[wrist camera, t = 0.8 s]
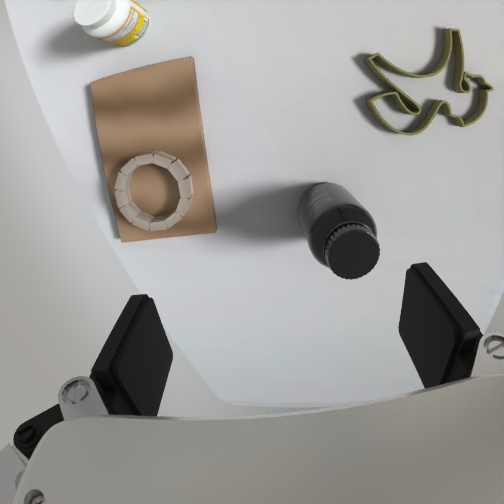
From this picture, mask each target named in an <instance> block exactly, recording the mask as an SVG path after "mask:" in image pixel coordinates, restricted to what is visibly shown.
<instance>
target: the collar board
mask: <svg viewBox="0 0 504 504" xmlns="http://www.w3.org/2000/svg"><path fill="white" fill-rule="evenodd" d="M90 86H91V94H92V101H93V108H94V115H95V122H96V128H97V134H98V140H99V145H100V151H101V156H102V161H103V166H104V171H105V176H106V181H107V185H108V190H109V194H110V198H111V203H112V207H113V211H114V215H115V219H116V223H117V227H118V231H119V234H120V238H121V242H122V243H123V242H132V241H141V240H150V239H159V238H168V237H178V236H187V235H197V234H207V233H216V230H217V223H216V216H215V210H214V203H213V197H212V190H211V184H210V177H209V170H208V163H207V156H206V149H205V142H204V135H203V127H202V120H201V112H200V105H199V97H198V89H197V81H196V73H195V65H194V58H193V57H191V56H190V57H185V58H180V59H175V60H170V61H165V62H161V63H156V64H152V65H148V66H144V67H140V68H136V69H133V70H129V71H125V72H122V73H118V74H115V75H112V76H108V77H105V78H102V79H99V80H96V81H93V82H90Z"/></svg>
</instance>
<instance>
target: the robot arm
mask: <svg viewBox="0 0 504 504" xmlns="http://www.w3.org/2000/svg"><path fill="white" fill-rule="evenodd" d="M399 334H400V336H401V338H402V340H403V342H404V344H405V346H406V349H407V351H408V353H409V355H410V357H411V359H412V361H413V363H414V365H415V368H416V370H417V372H418V374H419V376H420V378H421V381H422V383H423V385H424V387H425V389H422V390H418V391H413V392H409V393H405V394H400V395H396V396H391V397H386V398H382V399H377V400H371V401H366V402H361V403H355V404H349V405H343V406H336V407H329V408H323V409H315V410H307V411H299V412H288V413H279V414H278V413H277V414H266V415H249V416H230V417H229V416H228V417H157V414H158V410H159V406H160V403H161V399H162V395H163V392H164V388H165V385H166V381H167V377H168V374H169V370H170V367H171V363H172V359H173V353H172V349H171V346H170V344H169V341H168V339H167V336H166V334H165V331H164V328H163V325H162V323H161V320H160V317H159V314H158V311H157V309H156V306H155V303H154V300H153V299H152V298H149V297H148V295H146V294H141V295H132V296H131V297H130V299H129V301H128V302H127V304H126V306H125V308H124V309H123V311H122V313H121V315H120V317H119V319H118V320H117V322H116V324H115V326H114V328H113V329H112V331H111V333H110V335H109V337H108V339H107V341H106V342H105V344H104V346H103V348H102V350H101V352H100V354H99V356H98V358H97V360H96V362H95V364H94V366H93V368H92V370H91V371H92V373H91V375H90V377H89V378H88V377H84V376H79V377H75V378H72V379H70V380H69V381H67V382H66V383H65V384H64V385H63V386H62V387H61V389H60V390H59V393H58V401H59V404H57V405H55V406H53V407H51V408H50V409H48V410H46V411H44V412H42V413H41V414H39V415H37V416H35V417H33V418H31V419H30V420H28V421H26V422H24V423H23V424H21V425H20V426H19V427H18V428H17V430H16V432H15V434H14V444H13V445H12V446H11V445H10V444H8V445H7V446H6V447H5V448H3V450H1V451H0V504H504V334H502V333H497V332H491V333H487V334H485V335H484V336H483V334H482V333H481V332H480V328H479V327H478V325H477V324H476V323H475V321H474V320H473V319H472V317H471V316H470V315H469V313H468V312H467V311H466V310H465V308H464V307H463V306H462V304H461V303H460V302H459V301H458V299H457V298H456V297H455V296H454V294H453V293H452V292H451V291H450V290H449V288H448V287H447V286H446V285H445V283H444V282H443V281H442V280H441V279H440V277H439V276H438V275H437V274H436V273H435V272H434V270H433V269H432V268H431V267H430V266H429V265H428V264H427V263H426V262H424V263H417V264H412V265H411V267H410V269H407V271H406V278H405V287H404V294H403V302H402V308H401V315H400V321H399Z"/></svg>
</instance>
